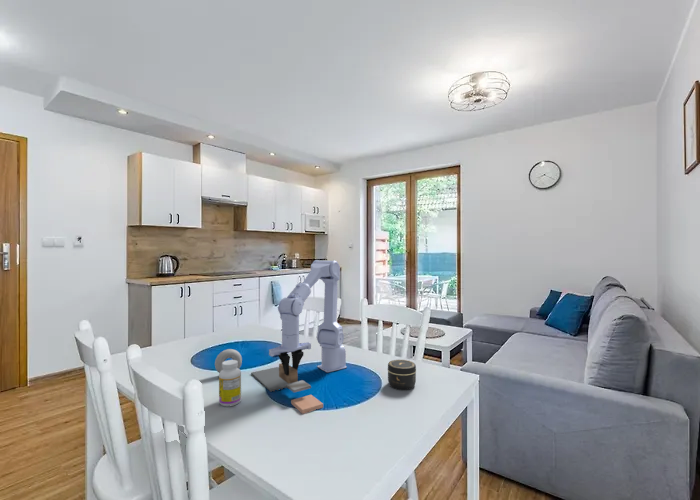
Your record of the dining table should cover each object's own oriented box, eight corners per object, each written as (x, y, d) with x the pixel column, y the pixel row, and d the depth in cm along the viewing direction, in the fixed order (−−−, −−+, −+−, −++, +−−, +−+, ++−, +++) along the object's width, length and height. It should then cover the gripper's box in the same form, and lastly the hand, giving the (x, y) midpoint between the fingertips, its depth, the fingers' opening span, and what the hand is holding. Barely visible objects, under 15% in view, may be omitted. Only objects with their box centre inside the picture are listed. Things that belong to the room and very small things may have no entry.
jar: (384, 388, 120) (384, 366, 120) (391, 378, 129) (391, 357, 129) (413, 392, 116) (413, 370, 116) (418, 381, 126) (418, 360, 126)
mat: (278, 368, 140) (278, 366, 140) (300, 384, 124) (300, 382, 124) (251, 374, 134) (251, 372, 134) (270, 391, 117) (270, 390, 117)
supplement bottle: (222, 398, 113) (222, 358, 113) (243, 397, 113) (243, 358, 113) (216, 407, 106) (216, 366, 106) (238, 406, 107) (238, 365, 106)
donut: (215, 379, 129) (215, 352, 129) (214, 376, 132) (214, 349, 132) (243, 374, 134) (242, 348, 134) (241, 371, 137) (240, 346, 137)
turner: (274, 377, 121) (274, 364, 121) (290, 374, 125) (289, 361, 125) (293, 392, 108) (293, 378, 108) (310, 388, 111) (310, 374, 111)
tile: (311, 394, 113) (323, 403, 106) (311, 399, 113) (323, 408, 106) (291, 400, 109) (302, 409, 102) (291, 405, 109) (302, 415, 102)
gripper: (304, 328, 124) (304, 365, 124) (265, 334, 116) (265, 374, 116) (313, 332, 118) (314, 371, 119) (273, 338, 110) (273, 381, 110)
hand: (290, 373), depth 117 cm, fingers closed on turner, 2 cm apart
